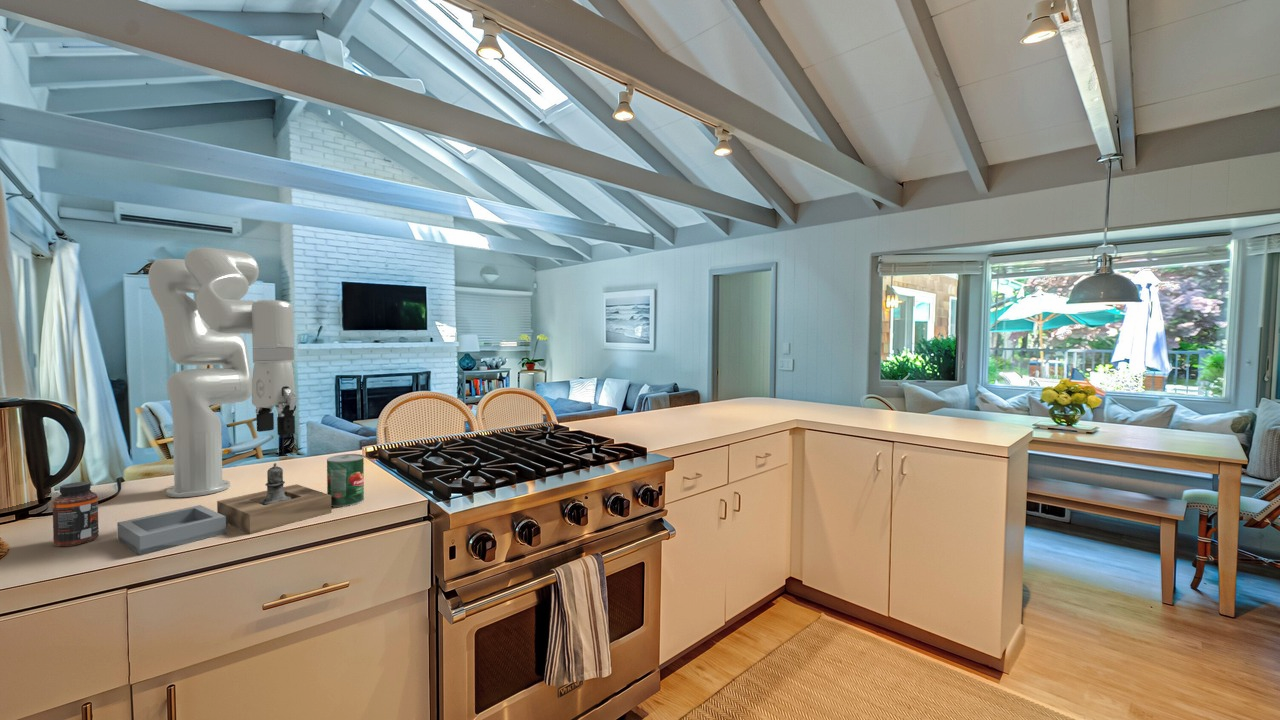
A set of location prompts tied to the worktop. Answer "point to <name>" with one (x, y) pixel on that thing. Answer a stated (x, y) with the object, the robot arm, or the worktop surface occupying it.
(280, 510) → the socket block
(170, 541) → the tray
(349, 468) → the canned tomato
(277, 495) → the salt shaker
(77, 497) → the supplement bottle
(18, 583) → the worktop surface
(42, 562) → the worktop surface
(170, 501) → the worktop surface
